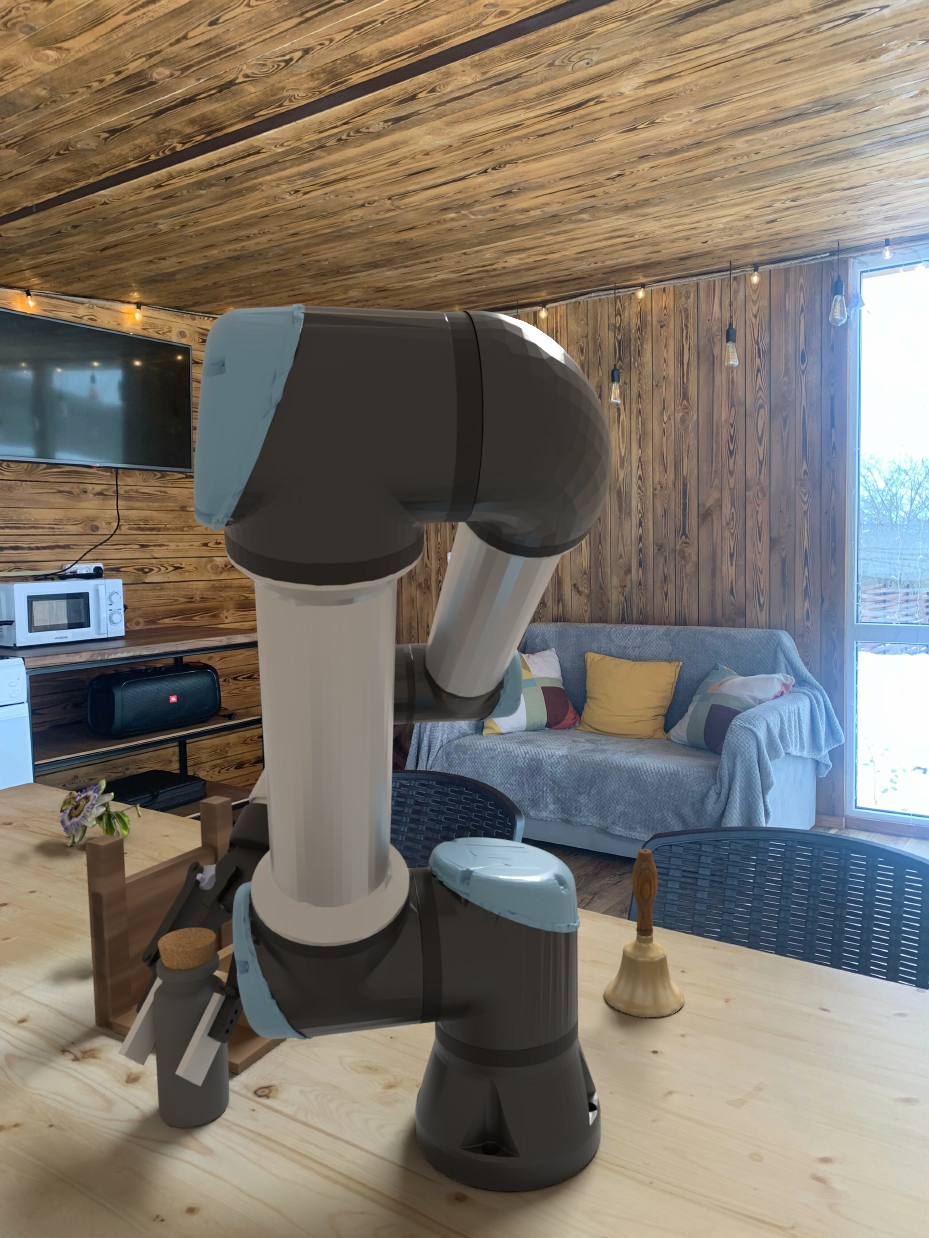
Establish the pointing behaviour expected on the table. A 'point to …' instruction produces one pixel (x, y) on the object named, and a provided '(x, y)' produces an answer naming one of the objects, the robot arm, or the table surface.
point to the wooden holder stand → (153, 927)
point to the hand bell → (644, 956)
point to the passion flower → (92, 814)
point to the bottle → (187, 1027)
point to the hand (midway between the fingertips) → (159, 1068)
